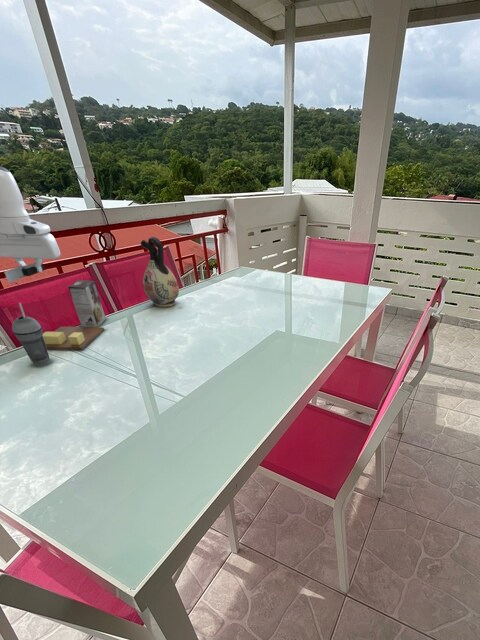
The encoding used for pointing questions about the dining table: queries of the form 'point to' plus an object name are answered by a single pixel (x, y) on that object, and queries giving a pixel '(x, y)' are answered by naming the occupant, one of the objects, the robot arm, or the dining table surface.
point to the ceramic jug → (159, 276)
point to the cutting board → (88, 332)
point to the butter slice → (76, 338)
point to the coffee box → (87, 303)
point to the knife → (21, 272)
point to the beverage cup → (31, 339)
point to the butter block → (54, 337)
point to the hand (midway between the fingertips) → (33, 271)
